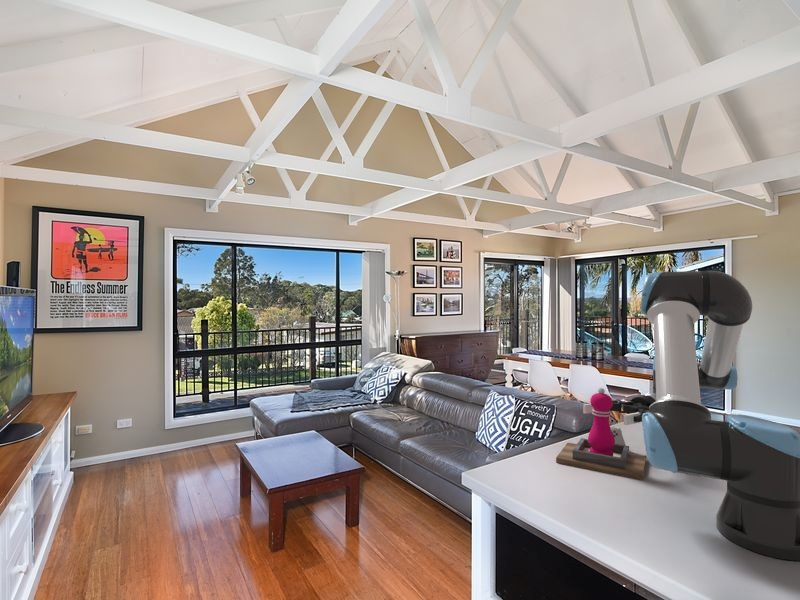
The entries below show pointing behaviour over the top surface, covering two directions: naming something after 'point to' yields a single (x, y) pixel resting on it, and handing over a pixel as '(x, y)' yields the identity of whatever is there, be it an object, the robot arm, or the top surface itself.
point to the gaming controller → (618, 435)
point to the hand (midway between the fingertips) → (603, 414)
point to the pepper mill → (601, 424)
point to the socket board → (603, 459)
